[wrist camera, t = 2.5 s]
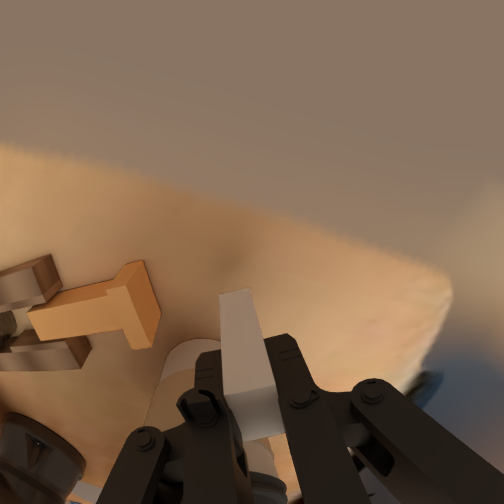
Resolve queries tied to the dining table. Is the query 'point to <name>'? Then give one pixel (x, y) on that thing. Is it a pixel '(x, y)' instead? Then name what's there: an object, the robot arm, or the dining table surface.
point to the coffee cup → (168, 416)
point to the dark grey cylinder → (6, 326)
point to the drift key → (102, 309)
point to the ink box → (69, 503)
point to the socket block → (28, 343)
